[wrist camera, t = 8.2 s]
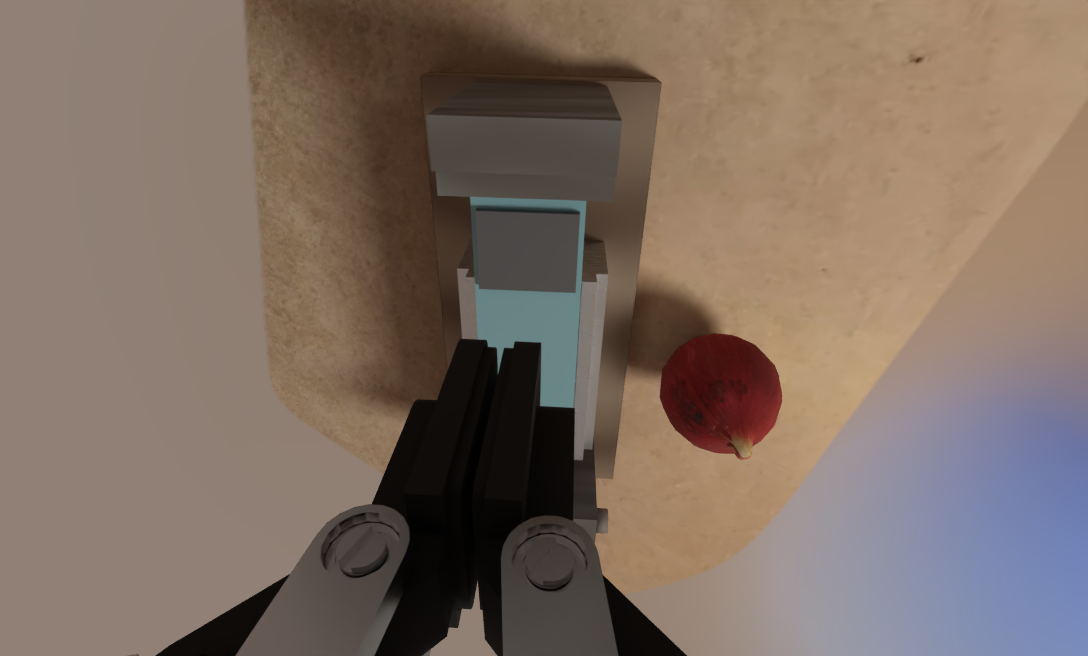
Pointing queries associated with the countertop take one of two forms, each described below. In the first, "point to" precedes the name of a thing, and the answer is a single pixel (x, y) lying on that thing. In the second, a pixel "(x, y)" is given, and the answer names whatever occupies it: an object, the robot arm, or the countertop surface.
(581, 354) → the heat sink
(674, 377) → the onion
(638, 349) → the countertop surface
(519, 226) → the bar
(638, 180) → the clip base
